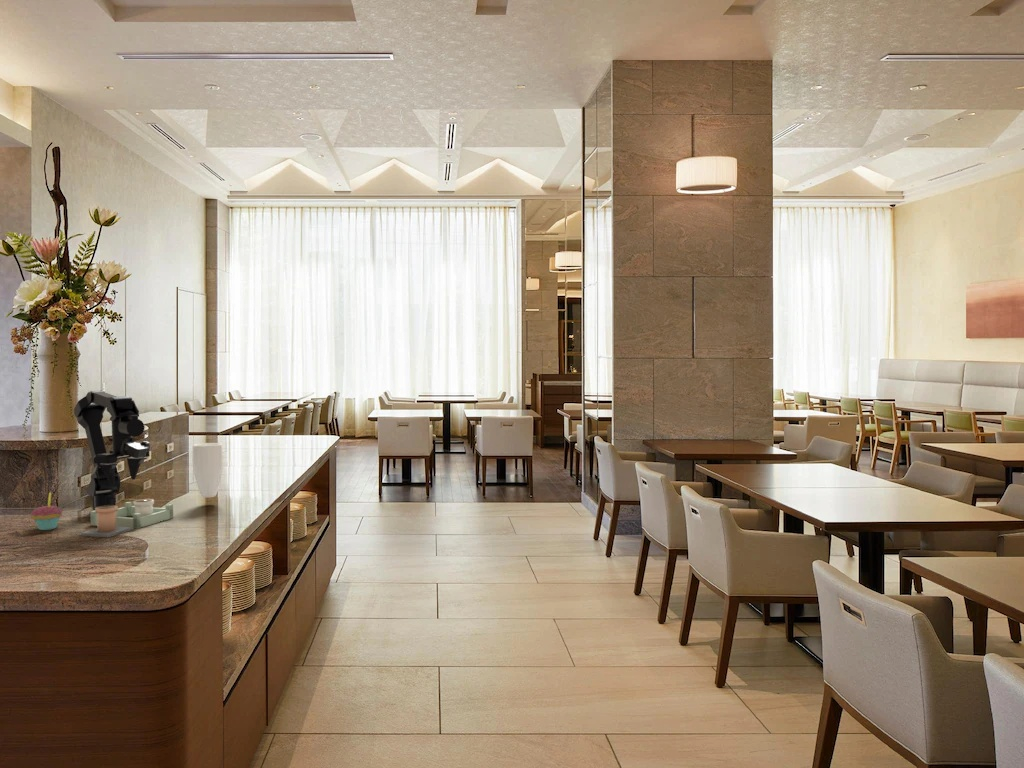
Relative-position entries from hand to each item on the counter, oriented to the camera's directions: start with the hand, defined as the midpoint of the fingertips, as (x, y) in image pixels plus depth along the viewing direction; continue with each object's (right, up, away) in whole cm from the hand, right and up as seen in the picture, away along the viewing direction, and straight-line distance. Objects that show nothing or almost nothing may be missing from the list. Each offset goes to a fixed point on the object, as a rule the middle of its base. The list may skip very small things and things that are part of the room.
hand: (123, 481), depth 262 cm
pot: (+10, -12, -6) cm, 17 cm away
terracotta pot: (+5, -12, -21) cm, 25 cm away
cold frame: (+6, -12, -5) cm, 14 cm away
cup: (+20, -11, +22) cm, 32 cm away
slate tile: (+5, -13, -21) cm, 25 cm away
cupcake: (-17, -13, -14) cm, 26 cm away
